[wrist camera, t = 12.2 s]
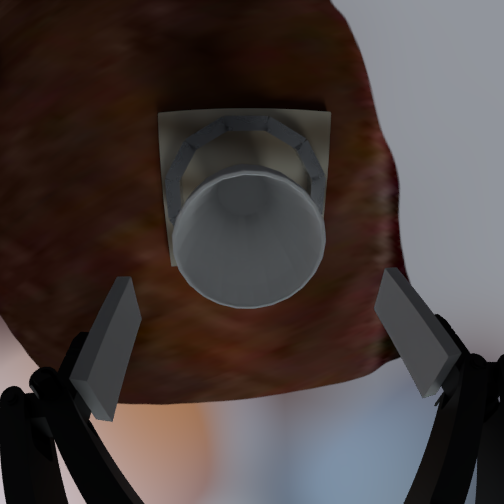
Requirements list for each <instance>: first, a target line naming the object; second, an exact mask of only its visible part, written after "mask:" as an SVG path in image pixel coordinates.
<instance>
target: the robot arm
mask: <svg viewBox="0 0 504 504" xmlns="http://www.w3.org/2000/svg"><path fill="white" fill-rule="evenodd" d="M374 310H375V312H376V313H377V315H378V317H379V319H380V320H381V322H382V324H383V325H384V327H385V329H386V331H387V332H388V334H389V336H390V338H391V340H392V341H393V343H394V345H395V347H396V348H397V350H398V352H399V354H400V356H401V358H402V359H403V361H404V363H405V365H406V367H407V369H408V370H409V373H410V374H411V376H412V378H413V380H414V382H415V384H416V386H417V388H418V390H419V392H420V394H421V396H422V398H425V397H428V396H431V395H435V394H436V393H437V391H438V390H439V388H440V387H441V386H442V388H443V390H444V392H443V393H442V395H441V396H440V397H439V399H438V400H437V402H436V403H435V405H434V406H437V405H438V403H439V406H438V410H437V414H436V418H435V421H434V424H433V428H432V431H431V434H430V437H429V441H428V444H427V447H426V449H425V452H424V455H423V458H422V461H421V464H420V466H419V469H418V471H417V474H416V476H415V479H414V481H413V483H412V486H411V488H410V491H409V493H408V495H407V497H406V499H405V502H404V504H464V503H465V500H466V497H467V494H468V490H469V487H470V483H471V480H472V476H473V472H474V468H475V464H476V459H477V486H476V500H475V504H504V354H503V355H501V356H500V358H499V359H498V361H497V362H486V360H485V359H484V358H483V357H482V356H480V355H478V354H474V353H472V354H470V352H469V351H468V349H467V348H466V347H465V345H464V344H463V342H462V341H461V340H460V338H459V337H458V336H457V334H455V331H454V330H453V329H451V326H450V325H449V323H448V322H447V321H446V320H445V319H444V318H443V317H441V316H440V315H438V314H435V315H434V314H433V313H432V311H431V310H430V309H429V307H428V306H427V305H426V303H425V302H424V301H423V300H422V298H421V297H420V296H419V295H418V293H417V292H416V291H415V289H414V288H413V287H412V286H411V285H410V283H409V282H408V281H407V280H406V278H405V277H404V276H403V275H402V274H401V272H400V271H399V270H398V269H397V268H385V270H384V274H383V278H382V281H381V285H380V289H379V293H378V296H377V300H376V303H375V307H374ZM140 322H141V315H140V311H139V307H138V304H137V300H136V296H135V292H134V288H133V283H132V279H131V277H117V278H116V280H115V282H114V284H113V286H112V288H111V290H110V292H109V293H108V295H107V297H106V299H105V301H104V303H103V305H102V307H101V309H100V311H99V313H98V315H97V317H96V320H95V322H94V324H93V326H92V328H91V330H90V332H80V333H79V334H78V335H77V336H76V337H75V338H74V339H73V341H72V343H71V345H70V347H69V349H68V351H67V353H66V356H65V358H64V360H63V362H62V364H61V366H60V368H59V371H58V373H57V372H56V371H55V369H53V368H51V367H43V368H39V369H38V370H36V371H35V372H34V373H33V374H32V375H31V377H30V380H29V386H30V388H31V389H32V391H33V392H34V393H26V394H25V393H24V392H23V391H22V390H21V388H19V387H17V386H11V387H9V388H7V389H6V390H4V391H3V393H2V395H1V397H0V456H1V469H2V479H3V486H4V493H5V499H6V504H68V500H67V497H66V493H65V489H64V485H63V481H62V477H61V473H60V468H59V464H58V458H57V453H56V447H55V442H56V444H57V447H58V449H59V451H60V454H61V456H62V458H63V460H64V462H65V464H66V466H67V468H68V470H69V472H70V474H71V476H72V478H73V480H74V482H75V484H76V485H77V487H78V489H79V491H80V493H81V495H82V496H83V498H84V500H85V501H86V503H87V504H144V503H143V501H142V500H141V499H140V497H139V496H138V495H137V493H136V492H135V491H134V489H133V488H132V487H131V485H130V484H129V482H128V481H127V480H126V478H125V477H124V475H123V474H122V472H121V471H120V469H119V468H118V466H117V465H116V463H115V462H114V460H113V459H112V457H111V456H110V454H109V452H108V451H107V449H106V447H105V446H104V444H103V443H102V441H101V439H100V437H99V436H98V434H97V432H96V430H95V429H94V427H93V425H92V423H91V422H90V420H89V418H90V414H91V413H92V414H93V415H94V417H95V418H96V419H98V420H105V421H111V422H112V421H113V418H114V413H115V409H116V405H117V402H118V398H119V394H120V390H121V386H122V383H123V379H124V375H125V372H126V368H127V365H128V361H129V358H130V355H131V351H132V348H133V345H134V341H135V338H136V335H137V332H138V328H139V325H140ZM499 396H500V402H499V400H498V397H499ZM54 440H55V441H54Z"/></svg>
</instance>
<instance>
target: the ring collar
mask: <svg viewBox="0 0 504 504" xmlns="http://www.w3.org/2000/svg"><path fill="white" fill-rule="evenodd" d="M227 131H266V132H268V133H270V134H271V135H273V136H275V137H276V138H278V139H280V140H281V141H283V142H285V143H286V144H288V145H290V146H291V147H293V149H294V151H295V152H296V154H297V156H298V158H299V160H300V162H301V164H302V166H303V168H304V169H305V171H306V173H307V175H308V179H307V193H308V194H309V195H310V197H311V198H312V199H313V200H314V201H315V203H316V204H317V206H318V208H319V211H320V213H321V215H323V204H324V193H325V181H326V177H325V174H324V171H323V169H322V167H321V165H320V163H319V161H318V159H317V157H316V155H315V153H314V151H313V149H312V147H311V146H310V144H309V142H308V140H307V139H306V138H305V137H303V136H301V135H300V134H298V133H297V132H295V131H293V130H292V129H290V128H289V127H287V126H285V125H284V124H282V123H280V122H279V121H277V120H275V119H273V118H272V117H270V116H266V115H232V116H224V118H223V116H222V117H220V118H219V119H217V120H215V121H214V122H212V123H210V124H209V125H207V126H205V127H204V128H202V129H200V130H199V131H197V132H196V133H194V134H192V135H191V136H189V137H188V138H186V139H185V140H184V141H183V143H182V145H181V147H180V149H179V151H178V153H177V155H176V157H175V159H174V161H173V163H172V165H171V167H170V169H169V171H168V173H167V175H166V177H165V178H166V179H165V188H166V199H167V209H168V218H170V219H169V220H170V222H171V223H172V224H173V226H174V225H175V221H176V217H177V215H178V213H179V211H180V210H181V208H182V206H183V205H184V199H183V184H182V176H183V175H184V173H185V171H186V169H187V167H188V165H189V163H190V161H191V159H192V157H193V155H194V153H195V152H196V150H197V149H198V148H200V147H202V146H203V145H205V144H206V143H208V142H210V141H211V140H213V139H215V138H216V137H218V136H220V135H221V134H223V133H225V132H227Z"/></svg>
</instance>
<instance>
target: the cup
mask: <svg viewBox="0 0 504 504" xmlns="http://www.w3.org/2000/svg"><path fill="white" fill-rule="evenodd" d="M325 242H326V235H325V226H324V220H323V218H322V215H321V213H320V211H319V208H318V206H317V204H316V203H315V201H314V200H313V199H312V198H311V197H310V195H309V194H308V193H307V192H306V190H305V189H304V188H302V187H301V186H300V185H299V184H297V183H296V182H295V181H293V180H292V179H290V178H289V177H287V176H286V175H284V174H283V173H281V172H280V171H277V170H274V169H271V168H268V167H265V166H261V165H249V164H238V165H233V166H231V167H227V168H225V169H222V170H220V171H219V172H217V173H215V174H213V175H211V176H209V177H207V178H206V179H205V180H204V181H203V182H202V183H201V184H200V185H198V186H197V187H196V188H195V189H194V190H193V191H192V193H191V194H190V195H189V197H188V198H187V199H186V201H185V203H184V205H183V206H182V208H181V210H180V211H179V213H178V215H177V217H176V221H175V225H174V229H173V233H172V244H173V255H174V258H175V260H176V263H177V266H178V269H179V271H180V272H181V274H182V275H183V277H184V278H185V279H186V281H187V282H188V283H189V285H190V286H191V287H193V288H194V289H195V290H196V291H197V292H199V293H200V294H201V295H202V296H204V297H206V298H208V299H210V300H212V301H214V302H216V303H218V304H221V305H225V306H229V307H233V308H260V307H265V306H270V305H273V304H276V303H278V302H280V301H283V300H285V299H287V298H289V297H291V296H292V295H293V294H295V293H296V292H297V291H299V290H300V289H301V288H303V287H304V286H305V284H306V283H307V282H308V281H309V280H310V279H311V277H312V276H313V275H314V274H315V272H316V270H317V268H318V266H319V264H320V262H321V260H322V258H323V253H324V248H325Z"/></svg>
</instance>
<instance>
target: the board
mask: <svg viewBox="0 0 504 504" xmlns="http://www.w3.org/2000/svg"><path fill="white" fill-rule="evenodd" d="M232 115H266V116H270V117H272V118H273V119H275V120H277V121H279V122H280V123H282V124H284V125H285V126H287V127H289V128H290V129H292V130H293V131H295V132H297V133H298V134H300V135H301V136H303V137H305V138H306V139H307V140H308V142H309V144H310V146H311V147H312V149H313V151H314V153H315V155H316V157H317V159H318V161H319V163H320V165H321V167H322V169H323V171H324V174H325V177H326V181H325V193H324V204H323V215H322V218H324V208H325V197H326V186H327V173H328V159H329V143H330V123H331V112H324V111H311V110H295V109H269V108H227V109H201V110H185V111H173V112H162V113H158V129H159V147H160V162H161V176H162V187H163V198H164V208H165V218H166V227H167V235H168V243H169V251H170V258H171V266H177V263H176V260H175V258H174V255H173V244H172V233H173V229H174V226H173V224H172V223H171V222H170V220H169V219H170V218H168V209H167V199H166V188H165V179H166V178H165V177H166V175H167V173H168V171H169V169H170V167H171V165H172V163H173V161H174V159H175V157H176V155H177V153H178V151H179V149H180V147H181V145H182V143H183V141H184V140H185V139H186V138H188V137H189V136H191V135H192V134H194V133H196V132H197V131H199V130H200V129H202V128H204V127H205V126H207V125H209V124H210V123H212V122H214V121H215V120H217V119H219V118H220V117H222V116H223V118H224V116H232ZM238 164H249V165H261V166H265V167H268V168H271V169H274V170H277V171H280V172H281V173H283V174H284V175H286V176H287V177H289V178H290V179H292V180H293V181H295V182H296V183H297V184H299V185H300V186H301V187H302V188H304V189H305V190H306V192H307V179H308V175H307V173H306V171H305V169H304V168H303V166H302V164H301V162H300V160H299V158H298V156H297V154H296V152H295V151H294V149H293V147H291V146H290V145H288V144H286V143H285V142H283V141H281V140H280V139H278V138H276V137H275V136H273V135H271V134H270V133H268V132H266V131H227V132H225V133H223V134H221V135H220V136H218V137H216V138H215V139H213V140H211V141H210V142H208V143H206V144H205V145H203V146H202V147H200V148H198V149H197V150H196V152H195V153H194V155H193V157H192V159H191V161H190V163H189V165H188V167H187V169H186V171H185V173H184V175H183V176H182V184H183V199H184V203H185V201H186V199H187V198H188V197H189V195H190V194H191V193H192V191H193V190H194V189H195V188H196V187H197V186H198V185H200V184H201V183H202V182H203V181H204V180H205V179H206V178H207V177H209V176H211V175H213V174H215V173H217V172H219V171H220V170H222V169H225V168H227V167H231V166H233V165H238Z"/></svg>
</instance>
